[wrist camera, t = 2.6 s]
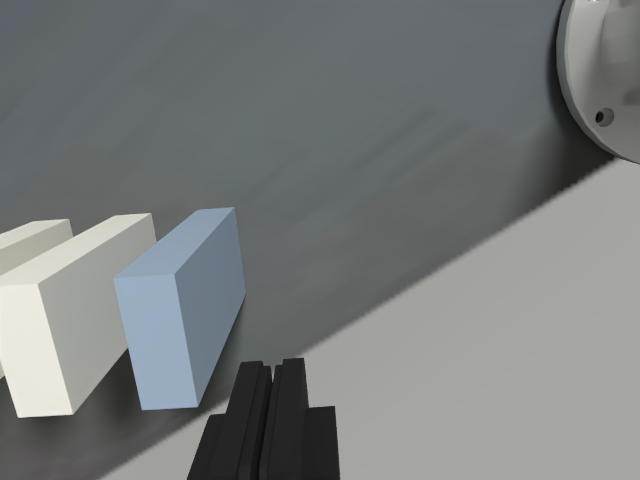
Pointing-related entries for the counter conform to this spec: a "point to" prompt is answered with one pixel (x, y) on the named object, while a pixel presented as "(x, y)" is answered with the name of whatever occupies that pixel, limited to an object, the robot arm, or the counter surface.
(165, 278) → the domino
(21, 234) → the domino
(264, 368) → the robot arm
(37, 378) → the domino
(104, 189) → the counter surface
